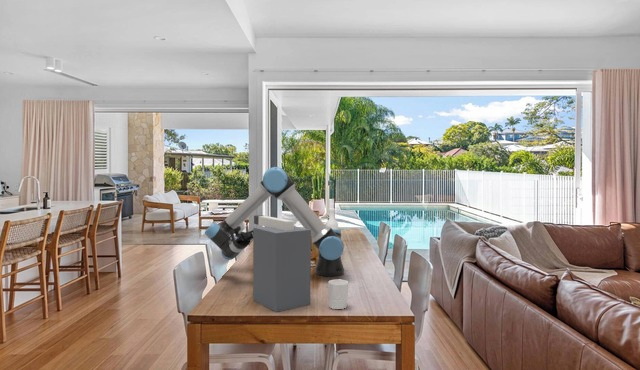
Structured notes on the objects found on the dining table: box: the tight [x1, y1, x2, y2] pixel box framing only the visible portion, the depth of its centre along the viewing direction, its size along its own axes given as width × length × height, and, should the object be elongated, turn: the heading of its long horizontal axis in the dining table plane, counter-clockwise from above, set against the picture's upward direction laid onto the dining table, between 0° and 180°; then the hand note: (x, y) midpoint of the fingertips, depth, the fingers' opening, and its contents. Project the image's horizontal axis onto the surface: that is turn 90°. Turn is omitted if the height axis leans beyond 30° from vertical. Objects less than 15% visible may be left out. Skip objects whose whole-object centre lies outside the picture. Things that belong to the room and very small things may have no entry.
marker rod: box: [253, 214, 295, 231], centre depth 177 cm, size 26×4×4 cm, turn 37°
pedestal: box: [252, 226, 312, 313], centre depth 172 cm, size 18×16×30 cm
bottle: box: [325, 207, 339, 229], centre depth 267 cm, size 8×8×30 cm
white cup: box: [327, 279, 349, 310], centre depth 167 cm, size 8×8×10 cm
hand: (258, 223), depth 186 cm, fingers open, 13 cm apart
